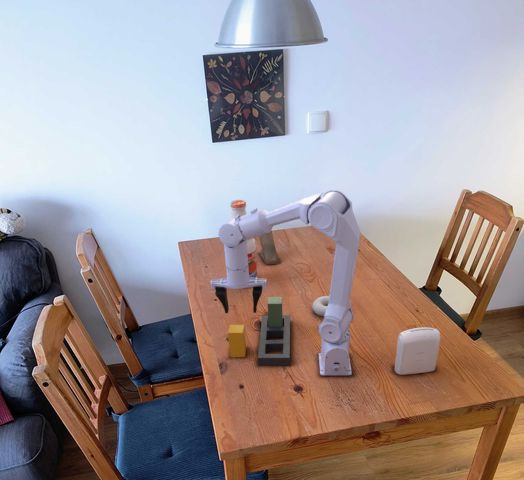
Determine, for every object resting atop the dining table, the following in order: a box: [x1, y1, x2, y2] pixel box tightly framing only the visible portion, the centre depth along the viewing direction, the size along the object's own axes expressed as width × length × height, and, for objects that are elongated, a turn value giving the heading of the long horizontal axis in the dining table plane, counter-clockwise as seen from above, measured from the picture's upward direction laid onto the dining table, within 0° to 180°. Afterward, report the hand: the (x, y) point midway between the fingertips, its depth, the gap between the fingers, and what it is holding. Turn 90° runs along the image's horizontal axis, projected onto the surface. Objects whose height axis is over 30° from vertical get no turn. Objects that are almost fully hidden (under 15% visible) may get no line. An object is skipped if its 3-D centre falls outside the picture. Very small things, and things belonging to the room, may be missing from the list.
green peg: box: [267, 296, 284, 327], centre depth 139 cm, size 4×4×10 cm
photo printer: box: [394, 326, 441, 376], centre depth 120 cm, size 10×4×12 cm, turn 96°
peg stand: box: [257, 314, 291, 366], centre depth 136 cm, size 22×8×2 cm, turn 177°
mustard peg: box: [227, 324, 247, 358], centre depth 131 cm, size 4×4×8 cm
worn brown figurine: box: [258, 230, 280, 266], centre depth 180 cm, size 12×6×18 cm, turn 11°
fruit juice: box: [229, 199, 259, 278], centre depth 160 cm, size 9×9×28 cm
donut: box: [312, 295, 329, 318], centre depth 148 cm, size 10×4×10 cm
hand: (241, 311), depth 131 cm, fingers open, 7 cm apart
